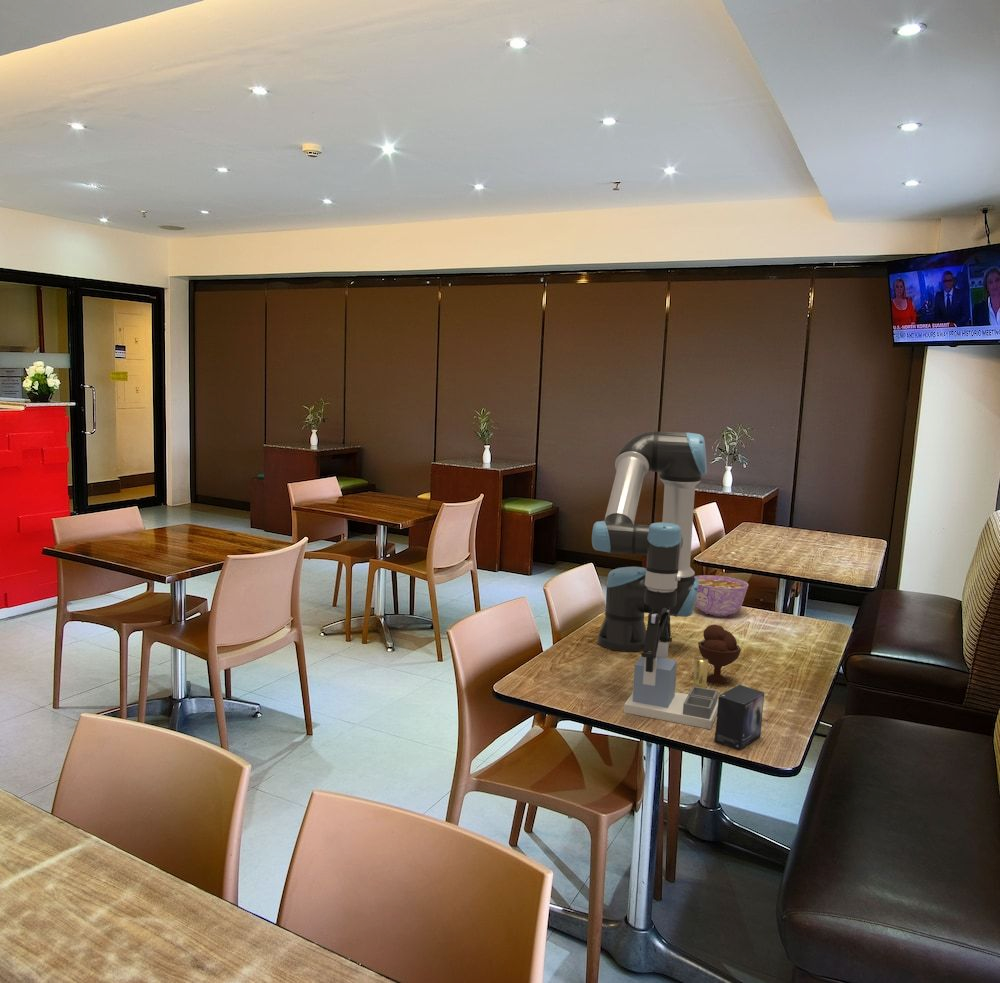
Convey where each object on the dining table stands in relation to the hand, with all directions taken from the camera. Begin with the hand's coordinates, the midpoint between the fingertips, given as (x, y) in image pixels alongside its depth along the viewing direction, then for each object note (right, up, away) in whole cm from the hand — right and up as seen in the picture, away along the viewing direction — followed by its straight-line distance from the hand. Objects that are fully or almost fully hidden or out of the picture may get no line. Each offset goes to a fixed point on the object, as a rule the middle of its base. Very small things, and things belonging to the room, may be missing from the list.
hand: (655, 676), depth 188 cm
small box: (+15, -10, -15) cm, 24 cm away
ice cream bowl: (+21, -6, +21) cm, 30 cm away
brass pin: (+12, -7, +8) cm, 16 cm away
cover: (0, -6, +1) cm, 6 cm away
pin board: (+4, -8, -1) cm, 9 cm away
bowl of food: (+39, +1, +90) cm, 98 cm away
